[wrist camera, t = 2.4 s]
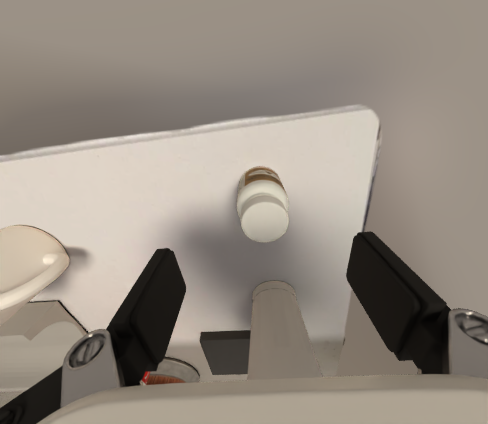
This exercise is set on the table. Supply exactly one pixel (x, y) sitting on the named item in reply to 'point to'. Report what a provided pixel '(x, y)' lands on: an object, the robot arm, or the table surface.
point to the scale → (226, 351)
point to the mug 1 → (27, 266)
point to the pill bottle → (262, 205)
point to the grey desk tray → (35, 344)
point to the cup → (279, 336)
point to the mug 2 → (173, 373)
